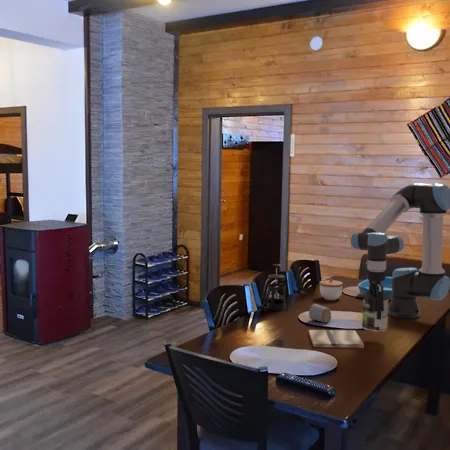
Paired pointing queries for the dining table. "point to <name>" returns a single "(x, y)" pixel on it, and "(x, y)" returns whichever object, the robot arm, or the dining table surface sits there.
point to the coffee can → (373, 313)
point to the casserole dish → (386, 284)
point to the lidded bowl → (331, 289)
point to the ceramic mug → (319, 313)
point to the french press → (280, 296)
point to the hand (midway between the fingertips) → (374, 322)
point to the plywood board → (335, 338)
